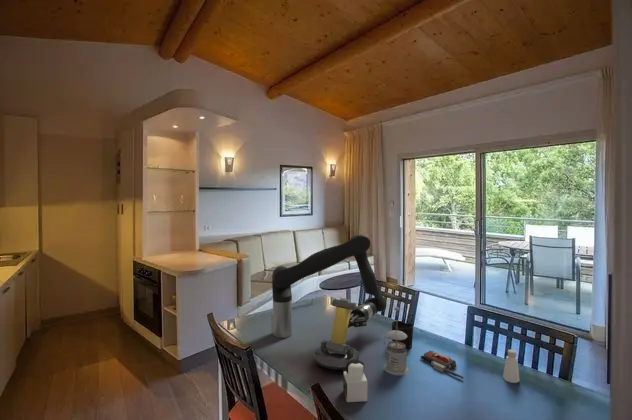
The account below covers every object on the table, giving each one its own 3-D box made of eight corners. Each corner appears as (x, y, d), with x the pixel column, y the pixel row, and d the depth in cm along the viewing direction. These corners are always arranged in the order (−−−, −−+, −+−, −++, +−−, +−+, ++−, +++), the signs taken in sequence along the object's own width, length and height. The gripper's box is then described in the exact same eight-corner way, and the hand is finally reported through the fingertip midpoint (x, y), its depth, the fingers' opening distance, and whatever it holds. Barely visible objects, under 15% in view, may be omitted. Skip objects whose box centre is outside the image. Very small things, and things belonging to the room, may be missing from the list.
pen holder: (397, 351, 156) (397, 329, 155) (388, 342, 165) (388, 321, 164) (416, 349, 158) (417, 327, 157) (406, 340, 167) (407, 319, 166)
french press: (394, 377, 134) (395, 313, 133) (375, 364, 144) (376, 304, 143) (414, 371, 139) (415, 308, 137) (394, 358, 149) (395, 300, 148)
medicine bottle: (343, 390, 126) (343, 357, 125) (362, 389, 126) (363, 356, 125) (346, 402, 118) (346, 367, 118) (367, 401, 119) (367, 367, 118)
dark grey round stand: (306, 367, 141) (306, 348, 141) (328, 350, 157) (328, 332, 156) (346, 380, 132) (346, 359, 131) (366, 361, 147) (366, 342, 147)
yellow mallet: (322, 349, 144) (331, 295, 149) (329, 349, 149) (337, 297, 154) (344, 355, 139) (352, 299, 144) (350, 355, 144) (358, 301, 149)
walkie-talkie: (417, 361, 148) (461, 382, 132) (417, 351, 147) (461, 371, 131) (429, 355, 153) (474, 375, 137) (430, 345, 153) (474, 364, 136)
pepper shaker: (519, 384, 129) (520, 355, 129) (502, 380, 132) (503, 351, 132) (519, 378, 134) (520, 349, 133) (503, 374, 137) (504, 346, 136)
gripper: (349, 303, 167) (330, 314, 152) (375, 308, 160) (358, 320, 145) (348, 319, 168) (330, 331, 153) (375, 325, 161) (358, 338, 146)
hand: (344, 326), depth 149 cm, fingers closed
